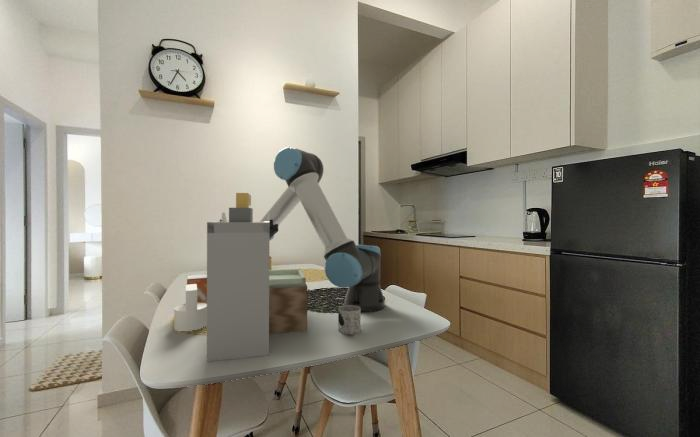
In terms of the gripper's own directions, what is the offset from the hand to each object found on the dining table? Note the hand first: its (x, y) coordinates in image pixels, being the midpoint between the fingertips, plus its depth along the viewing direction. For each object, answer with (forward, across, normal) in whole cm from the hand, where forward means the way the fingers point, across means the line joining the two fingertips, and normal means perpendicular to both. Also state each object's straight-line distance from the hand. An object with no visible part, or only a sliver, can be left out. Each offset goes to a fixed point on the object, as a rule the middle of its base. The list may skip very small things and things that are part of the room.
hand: (246, 216), depth 97 cm
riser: (-14, -12, -31) cm, 36 cm away
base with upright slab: (-17, +16, -29) cm, 37 cm away
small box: (-28, +16, -23) cm, 39 cm away
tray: (-8, -12, -19) cm, 24 cm away
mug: (-4, -30, -37) cm, 48 cm away
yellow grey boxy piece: (+10, 0, -10) cm, 14 cm away
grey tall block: (0, 0, -39) cm, 39 cm away
